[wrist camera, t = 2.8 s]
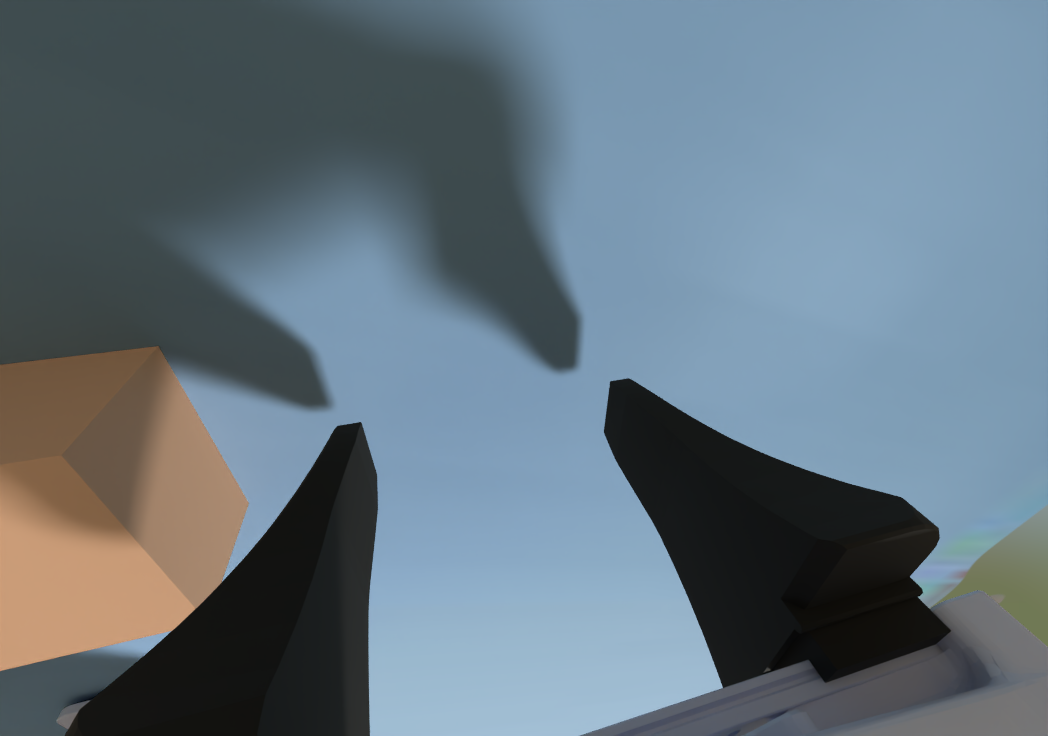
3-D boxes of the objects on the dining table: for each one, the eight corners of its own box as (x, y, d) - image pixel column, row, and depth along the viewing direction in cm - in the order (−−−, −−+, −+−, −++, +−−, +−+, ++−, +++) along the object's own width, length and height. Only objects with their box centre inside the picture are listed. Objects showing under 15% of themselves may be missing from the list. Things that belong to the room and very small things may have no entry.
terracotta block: (250, 498, 14) (207, 622, 11) (33, 538, 13) (-87, 691, 10) (161, 342, 11) (60, 455, 7) (-143, 377, 10) (-417, 529, 6)
